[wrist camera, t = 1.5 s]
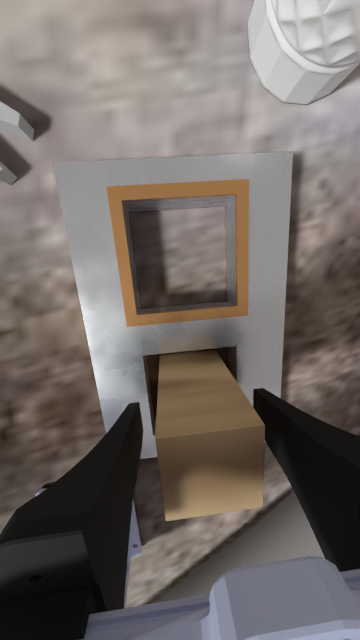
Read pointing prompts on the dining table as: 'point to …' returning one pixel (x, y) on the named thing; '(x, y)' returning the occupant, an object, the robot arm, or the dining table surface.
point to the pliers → (15, 124)
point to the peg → (206, 438)
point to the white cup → (304, 46)
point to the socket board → (183, 320)
